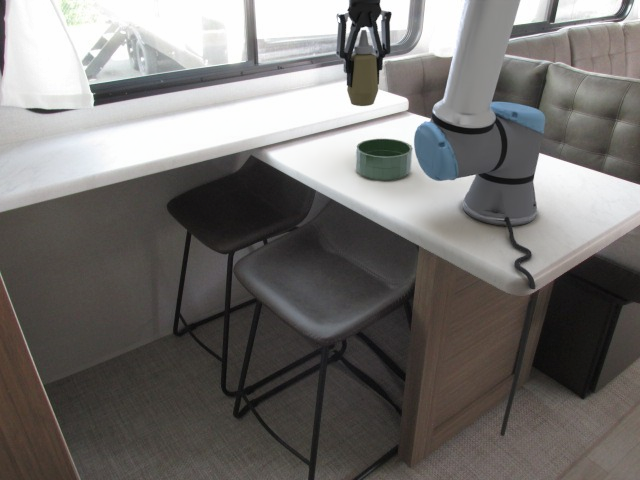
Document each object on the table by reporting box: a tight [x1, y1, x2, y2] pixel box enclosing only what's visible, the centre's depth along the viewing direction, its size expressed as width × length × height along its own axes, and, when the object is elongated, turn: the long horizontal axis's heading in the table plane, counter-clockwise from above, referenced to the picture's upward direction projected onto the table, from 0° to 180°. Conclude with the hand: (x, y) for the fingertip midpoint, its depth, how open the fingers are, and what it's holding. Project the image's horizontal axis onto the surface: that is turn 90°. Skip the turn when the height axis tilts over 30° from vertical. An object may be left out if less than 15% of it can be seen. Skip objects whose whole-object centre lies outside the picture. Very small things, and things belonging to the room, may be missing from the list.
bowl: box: [355, 138, 414, 182], centre depth 132 cm, size 14×14×6 cm
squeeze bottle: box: [346, 29, 379, 107], centre depth 129 cm, size 8×8×18 cm
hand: (362, 84), depth 131 cm, fingers closed on squeeze bottle, 6 cm apart
